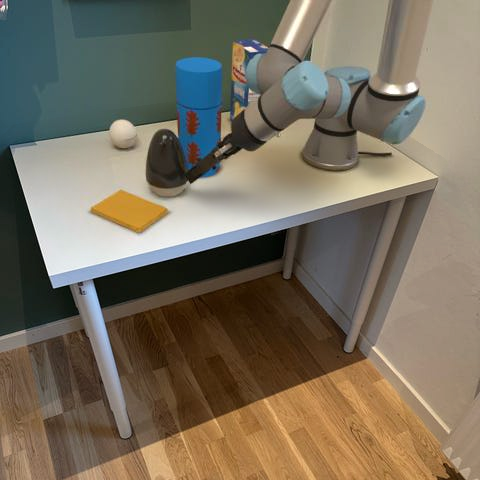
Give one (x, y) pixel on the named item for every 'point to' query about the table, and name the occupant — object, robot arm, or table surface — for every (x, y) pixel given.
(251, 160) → the table surface
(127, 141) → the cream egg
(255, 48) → the cracker box
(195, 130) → the thermos
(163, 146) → the black glossy oval body
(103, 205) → the mustard mat
